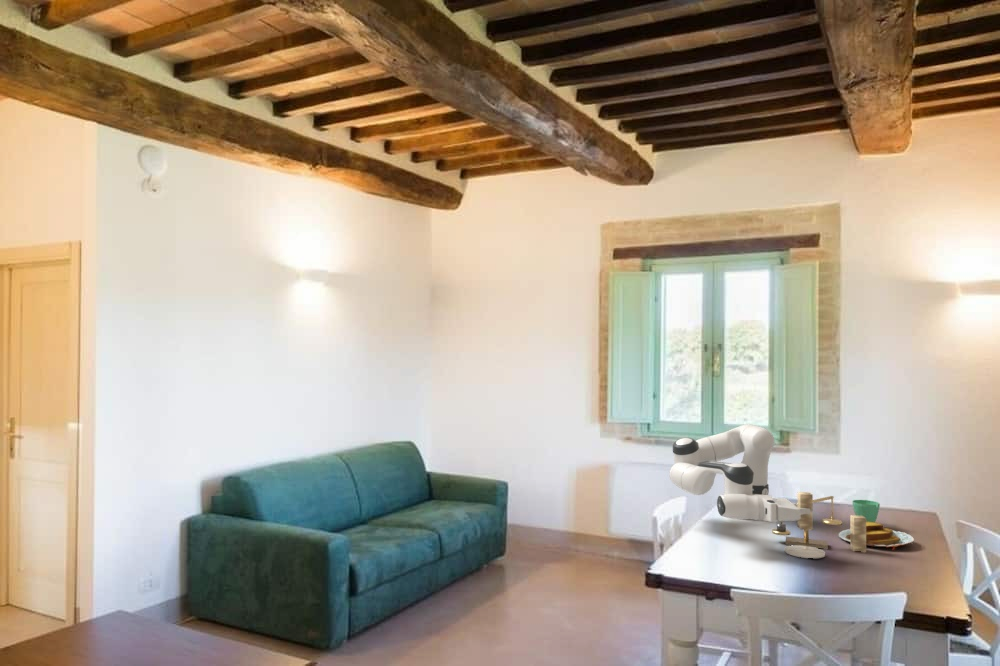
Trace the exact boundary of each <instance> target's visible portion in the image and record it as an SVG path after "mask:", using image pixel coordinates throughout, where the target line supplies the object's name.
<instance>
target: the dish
mask: <svg viewBox="0 0 1000 666" xmlns="http://www.w3.org/2000/svg"><path fill="white" fill-rule="evenodd" d="M784 553H785V554H787V555H790V556H792V557H796V558H800V557H801V559H808V558H813V559H822V558H824V557H826V552H825V551H824V549H818V548H814V547H809V546H800V545H793V546H790V545H786V546H785V547H784Z"/></svg>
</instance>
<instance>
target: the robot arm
mask: <svg viewBox="0 0 1000 666" xmlns="http://www.w3.org/2000/svg"><path fill="white" fill-rule="evenodd" d="M774 446H775V437H774V435H773V434H772V433H771V432H770V430H768V429H767V428H765V427H763V426H759V425H756V424H753V423H749V424H748V423H745V424H741V425H740V426H737V427H734V428H732V429H730V430H727V431H724V432H720V433H717V434H714V435H708V436H705V437H702V438H699V439H696V440H695V439H693V438H691V437H682V438H679V439H677V440H675V442H673V444H672V454H673V459H674V464H673V465H672V466H671V468H669V469H670V470H669V478H670V480H671V482H672V483H673V484H674V485H675V486H677V487H678V488H680V489H681V490H683V491H685V492H686V493H689V494H691V495H694V496H701V495H705V494H707V493H708V492H709V491H710V490H711V489H712V487H713V485H714V482H715V478H716V476H717V474H719V475H723V478H724V493H723V494H719V495H718V497H717V499H716V507H717V512H718V514H719V516H721V517H723V518H728V519H733V520H743V521H744V520H755V521H767V522H769V523H777V521H779V522H781V521H782V522H791V521H793V522H795V521H796V522H797V520H800V519H801V515H802V514H810V513H811V510H810V509H809V508H798V507H797V503H795V502H791V501H790V500H789V499H788V498H787V497H786V498H785V497H773V496H772V494H769V493H770V492H769V486H770V485H769V484H768V469H769V467H768V466H769V462H770V461H769V460H770V456H771V452H772V449H773V448H774ZM741 453H743V457H742V461H741V462H740V463H739V462H733V463H732V462H724V460H727V459H733V458H734V457H736V455H738V454H741Z"/></svg>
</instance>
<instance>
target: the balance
mask: <svg viewBox="0 0 1000 666" xmlns="http://www.w3.org/2000/svg"><path fill="white" fill-rule="evenodd" d="M827 500H828V501H829V500H831V502H830V503H831V510H830V511H831V514H830V515H831V517H830V518H823V519H822V523H823V524H826V525H831V526H841V525H843V521H842V520H841V519H835V518H834V495H830V496H825V497H820V498H816V499H813V504H814V503H815V504H816V503H819V502H824V501H827ZM809 531H810V530H805V529H803V537H796V536H790V535H791V533H792V532H791V530H788V529H787V524H785V523H783V521H780V523H776V528H773V529H772V530H771V533H772V534H773V535H777V536H785V546H790V545H800V546H809V547H816V548H824V549H823V550H827V549H828V548H829V545H828V544H829V543H828V540H824V539H823V540H822V539H815V538H810V537H809V536H810V534H809V533H810V532H809Z"/></svg>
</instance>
